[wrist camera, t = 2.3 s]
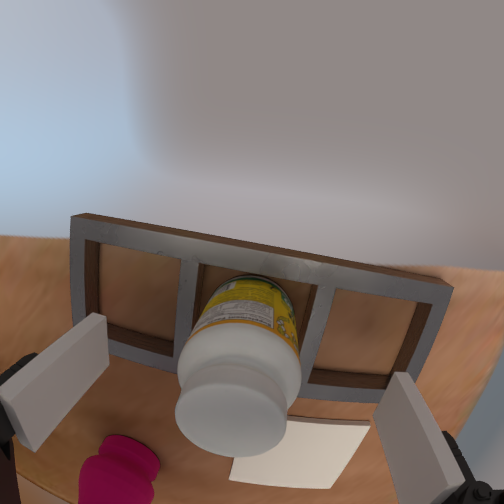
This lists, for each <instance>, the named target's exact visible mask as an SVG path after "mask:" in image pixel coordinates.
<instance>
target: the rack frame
mask: <svg viewBox="0 0 504 504" xmlns="http://www.w3.org/2000/svg"><path fill="white" fill-rule="evenodd" d="M99 242H101V243H106V244H110V245H115V246H120V247H124V248H129V249H134V250H139V251H143V252H148V253H153V254H158V255H163V256H168V257H173V258H178V259H181V267H180V277H179V287H178V298H177V309H176V322H175V336H174V342H171V341H167V340H163V339H160V338H156V337H152V336H149V335H145V334H141V333H138V332H134V331H131V330H128V329H124V328H121V327H118V326H115V325H111V324H108V323H107V338H108V352H109V354H112V355H115V356H118V357H121V358H124V359H127V360H130V361H133V362H136V363H140V364H143V365H146V366H150V367H153V368H156V369H160V370H164V371H167V372H171V373H175V374H178V373H177V367H178V361H179V357H180V354H181V352H182V350H183V348H184V346H185V344H186V342H187V340H188V338H189V336H190V334H191V333H192V331H193V329H194V327H195V325H196V323H197V322H198V318H199V309H200V300H201V292H202V284H203V276H204V269H205V264H208V265H213V266H218V267H223V268H228V269H234V270H239V271H244V272H249V273H255V274H260V275H265V276H271V277H276V278H282V279H287V280H293V281H298V282H304V283H309V284H312V288H311V292H310V296H309V300H308V304H307V308H306V312H305V315H304V319H303V323H302V327H301V330H300V334H299V338H298V347H299V356H300V364H301V386H300V390H299V393H298V395H297V397H301V398H309V399H319V400H330V401H343V402H359V403H379V402H380V400H381V399H382V397H383V395H384V393H385V391H386V389H387V387H388V384H389V382H390V380H391V378H392V376H393V374H394V372H408V373H409V375H410V376H411V378H412V380H413V381H414V383H415V382H416V380H417V378H418V376H419V374H420V372H421V370H422V368H423V365H424V363H425V361H426V359H427V357H428V355H429V352H430V350H431V348H432V345H433V343H434V341H435V338H436V336H437V333H438V331H439V328H440V326H441V323H442V321H443V318H444V315H445V313H446V310H447V307H448V304H449V301H450V298H451V295H452V292H453V289H454V287H453V286H451V285H450V284H448V283H447V282H445V281H444V280H442V279H440V278H435V277H430V276H425V275H420V274H415V273H410V272H405V271H400V270H395V269H390V268H384V267H379V266H374V265H369V264H364V263H359V262H354V261H349V260H343V259H338V258H333V257H328V256H322V255H317V254H312V253H307V252H301V251H296V250H291V249H285V248H280V247H274V246H268V245H264V244H258V243H253V242H247V241H242V240H237V239H231V238H226V237H221V236H215V235H209V234H203V233H199V232H193V231H187V230H182V229H176V228H171V227H165V226H159V225H154V224H148V223H142V222H136V221H131V220H125V219H120V218H114V217H108V216H102V215H96V214H90V213H83V214H79V215H74V216H71V225H70V288H71V305H72V318H73V327H74V326H76V325H77V324H78V323H80V322H81V321H82V320H83V319H85V318H86V317H87V316H89V315H90V314H91V313H93V312H94V313H97V314H99V293H98V266H99ZM336 288H338V289H344V290H350V291H355V292H361V293H367V294H373V295H379V296H385V297H392V298H398V299H404V300H410V301H417V302H418V305H417V308H416V311H415V313H414V316H413V319H412V322H411V324H410V327H409V330H408V332H407V335H406V338H405V340H404V343H403V345H402V347H401V350H400V352H399V355H398V357H397V359H396V362H395V364H394V366H393V368H392V371H391V373H390V375H389V376H387V375H372V374H359V373H348V372H338V371H329V370H320V369H312V367H313V364H314V361H315V358H316V355H317V352H318V349H319V346H320V342H321V339H322V336H323V333H324V329H325V326H326V323H327V319H328V316H329V312H330V309H331V305H332V302H333V298H334V294H335V291H336Z"/></svg>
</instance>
